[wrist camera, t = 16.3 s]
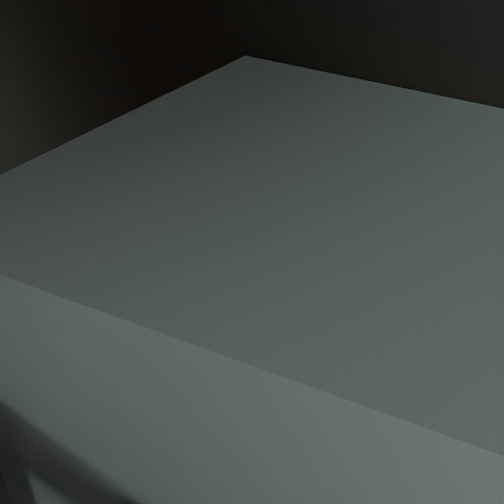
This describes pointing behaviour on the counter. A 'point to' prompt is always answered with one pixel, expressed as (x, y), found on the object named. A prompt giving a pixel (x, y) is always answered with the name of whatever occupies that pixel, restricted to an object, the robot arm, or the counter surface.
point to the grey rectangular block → (258, 299)
